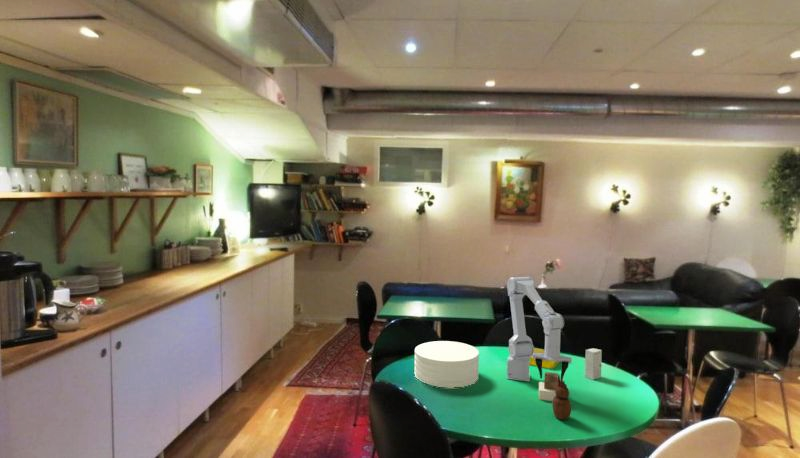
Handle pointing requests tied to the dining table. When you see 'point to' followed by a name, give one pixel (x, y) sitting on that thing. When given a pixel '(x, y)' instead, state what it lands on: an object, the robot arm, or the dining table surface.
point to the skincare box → (593, 363)
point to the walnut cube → (550, 380)
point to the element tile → (545, 363)
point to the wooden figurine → (561, 401)
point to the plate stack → (446, 364)
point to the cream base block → (545, 393)
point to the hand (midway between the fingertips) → (551, 378)
